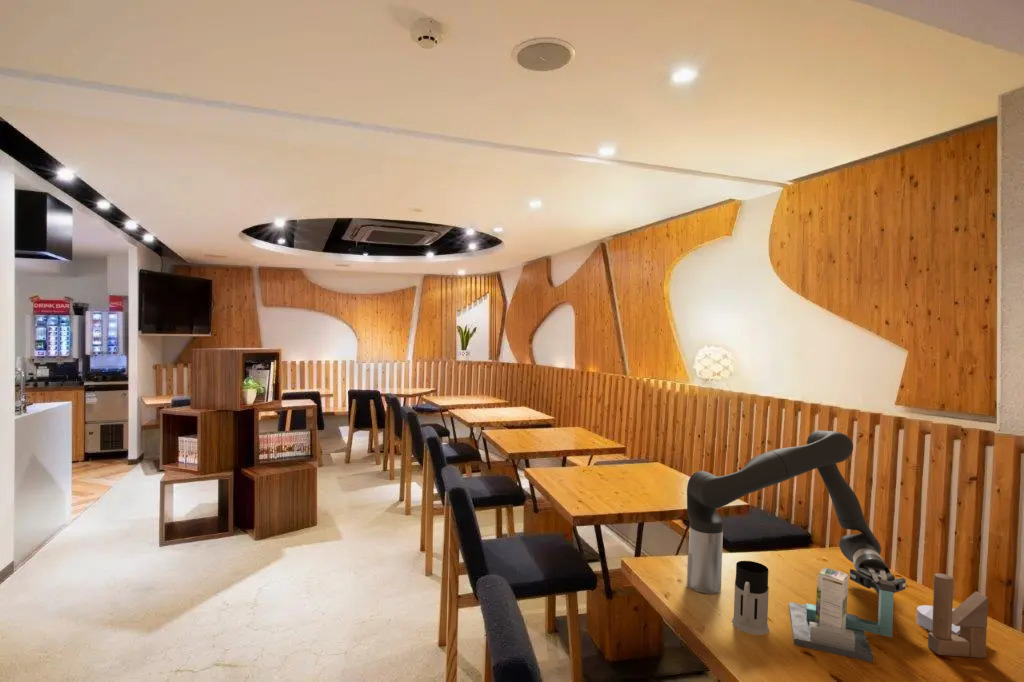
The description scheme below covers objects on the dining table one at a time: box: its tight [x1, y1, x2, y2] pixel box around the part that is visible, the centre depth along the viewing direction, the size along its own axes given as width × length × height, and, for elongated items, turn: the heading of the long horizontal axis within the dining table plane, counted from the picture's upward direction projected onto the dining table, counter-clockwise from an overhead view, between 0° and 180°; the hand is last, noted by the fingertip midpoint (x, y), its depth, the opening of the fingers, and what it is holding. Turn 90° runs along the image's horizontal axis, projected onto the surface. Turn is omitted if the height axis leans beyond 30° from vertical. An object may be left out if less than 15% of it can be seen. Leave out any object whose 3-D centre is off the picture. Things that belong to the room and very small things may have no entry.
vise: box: [788, 601, 874, 663], centre depth 135 cm, size 16×20×4 cm
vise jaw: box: [805, 579, 896, 638], centre depth 136 cm, size 18×3×13 cm, turn 66°
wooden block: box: [927, 573, 989, 659], centre depth 128 cm, size 4×11×18 cm, turn 87°
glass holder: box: [731, 560, 770, 636], centre depth 135 cm, size 9×14×15 cm, turn 148°
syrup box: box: [815, 567, 849, 629], centre depth 133 cm, size 6×6×14 cm
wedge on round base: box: [916, 604, 960, 636], centre depth 138 cm, size 9×7×13 cm
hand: (884, 593), depth 134 cm, fingers closed
